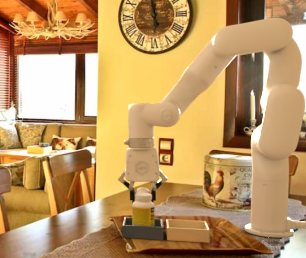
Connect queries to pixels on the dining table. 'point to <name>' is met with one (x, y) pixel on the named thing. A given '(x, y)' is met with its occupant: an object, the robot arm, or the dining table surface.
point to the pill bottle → (143, 210)
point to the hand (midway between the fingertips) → (143, 202)
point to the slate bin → (143, 230)
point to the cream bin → (187, 230)
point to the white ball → (142, 190)
